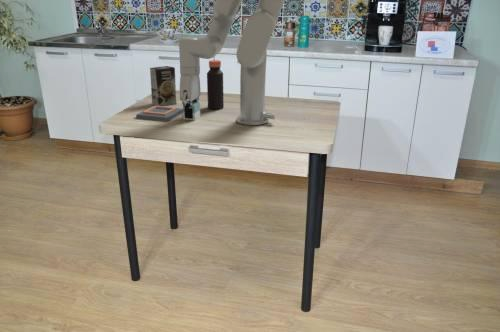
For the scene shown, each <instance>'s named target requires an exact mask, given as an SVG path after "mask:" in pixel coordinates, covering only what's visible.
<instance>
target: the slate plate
mask: <svg viewBox="0 0 500 332" xmlns="http://www.w3.org/2000/svg"><path fill="white" fill-rule="evenodd" d="M182 114H183V108H182V107H181V108H179V107H173V106H156V105H153V106H150V107H149V108H147V109H144V110H142V111H141V112H138V113H137V114H135V115H136V117H135V118H136V119H142V120H152V121H163V122H169V121H172V120H173V119H175V118H177V117H178V116H180V115H182Z"/></svg>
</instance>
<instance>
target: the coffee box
mask: <svg viewBox="0 0 500 332" xmlns="http://www.w3.org/2000/svg"><path fill="white" fill-rule="evenodd" d="M149 73H150V89H151V104H152V105H153V106H164V107H167V106H171V105H176V104H177V91H176V90H177V88H176V68H175V67H174V66H168V65H165V66H157V67H155V66H154V67H150V68H149Z"/></svg>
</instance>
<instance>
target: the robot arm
mask: <svg viewBox="0 0 500 332" xmlns="http://www.w3.org/2000/svg"><path fill="white" fill-rule="evenodd" d="M242 1H243V0H215V2H214V4H213V8H212V14H213V15H212V22H211V24H210V26H209V29H208V32H207V34H206V36H205V37H203V38H197V37H196V36H195V37H194V36H183V37H180V38H179V39H178V51H179V53H178V55H179V73H180V74H179V75H180V78H179V100H180V101H181V104H182V107H183V106H184V111H185V118H190V119H192V118H193V111H192V108H191V107H192V102H198V103H200V102H199V99H200V96H201V79H200V75H201V64H200V63H201V62H200V59H205V60H211V59H212V58H215V57H216V56H217V55H218V54H219V53H220V52H221V51H222V49H223V47H224V46H225V45H224V44H225V43H226V40H227V38H228V36H229V34H230V31H231V28H232V25H233V24H234V20H235V17H236V15H237V13H238V11H239V8H240V6H241V3H242ZM284 2H285V0H258V3H257V6H256V8H255V10H254V12H253V13H252V14H250V15H249V17H248V19H247V21H246V24H245V27H244V29H243V32H242V35H241V37H240V41H239V43H238V46H237V49H236V59H237V62H238V63H239V64H240V75H239V77H240V82H239V83H240V85H239V86H240V88H239V89H240V91H239V92H240V94H239V97H240V103H239V105H240V107H239V108H240V109H239V110H240V111H239V112H240V115H238V116H237V117H236V118H235V119H236V122H237V123H239V124H240V125H246V126H260V125H261V126H262V125H264V124H267V123H269V122H270V121H269V119H270V120H275V119H276V114H275V113H274V112H268V108H266V78H267V77H266V69H267V57H268V55H267V51H268V50H267V48H268V45H269V44H270V43H269V42H270V40H271V39H272V35H273V33H274V31H275V30H276V27H277V24H278V23H277V22H278V19H279V16H280V14H281V11H282V7H283V4H284ZM187 102H189V104H188V103H187Z"/></svg>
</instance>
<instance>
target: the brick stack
mask: <svg viewBox="0 0 500 332" xmlns="http://www.w3.org/2000/svg"><path fill="white" fill-rule="evenodd" d="M187 103H188V104H189V102H187ZM191 108H192V111H193V118H192V119H190V118H185V111H184V106H183V105H182V109H183V113H182V114H183V115H182V117H183V120H187V121H188V120H189V121H197V120H199V119H200V118H201V103H200V102H199V103H198V102H192V107H191Z"/></svg>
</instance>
